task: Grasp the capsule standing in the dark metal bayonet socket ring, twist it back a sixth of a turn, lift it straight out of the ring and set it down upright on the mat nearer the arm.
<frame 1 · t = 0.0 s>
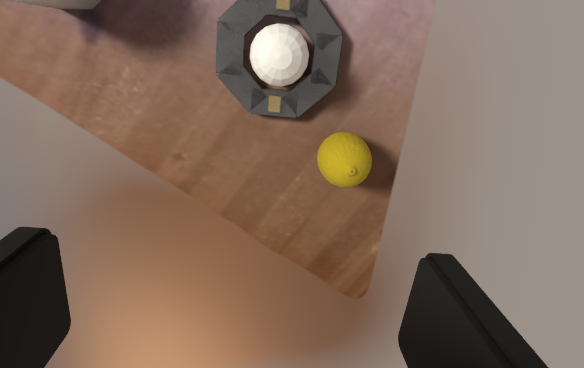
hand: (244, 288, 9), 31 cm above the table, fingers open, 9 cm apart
socket ring: (278, 54, 36), on the table
lemon: (337, 147, 41), on the table
capsule: (278, 53, 37), resting in socket ring
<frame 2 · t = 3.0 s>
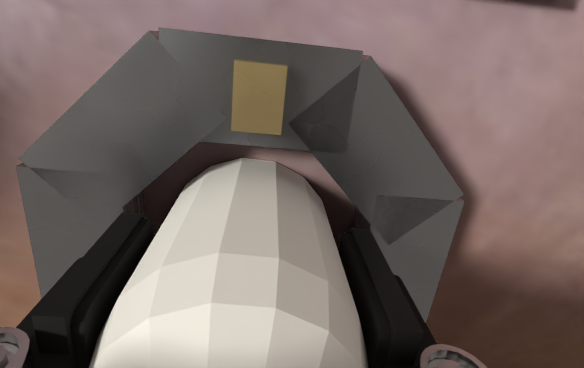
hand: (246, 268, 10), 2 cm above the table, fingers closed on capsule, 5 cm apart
socket ring: (250, 232, 12), on the table
capsule: (250, 229, 12), resting in socket ring, touching gripper
when the fingers open (3 cm above the table, at t = 10.2 s): capsule stays where it is, resting on mat.
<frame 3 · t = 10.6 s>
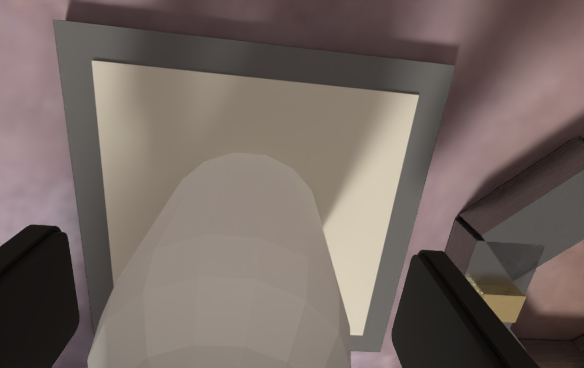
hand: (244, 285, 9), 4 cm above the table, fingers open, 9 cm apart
socket ring: (573, 278, 15), on the table
mat: (252, 214, 13), on the table
capsule: (245, 220, 13), point 1 cm above the table, touching mat
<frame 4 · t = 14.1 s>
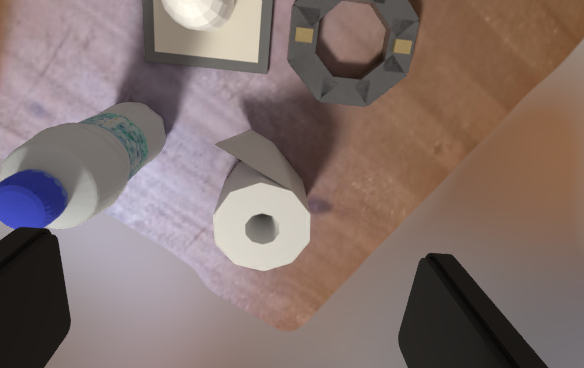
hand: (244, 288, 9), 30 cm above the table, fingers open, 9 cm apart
bottle: (141, 128, 38), on the table
socket ring: (349, 40, 35), on the table
toilet tissue: (261, 181, 41), on the table
mat: (209, 1, 33), on the table
capsule: (205, 1, 33), point 1 cm above the table, touching mat
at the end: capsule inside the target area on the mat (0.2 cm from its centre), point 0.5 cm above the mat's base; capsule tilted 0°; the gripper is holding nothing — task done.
